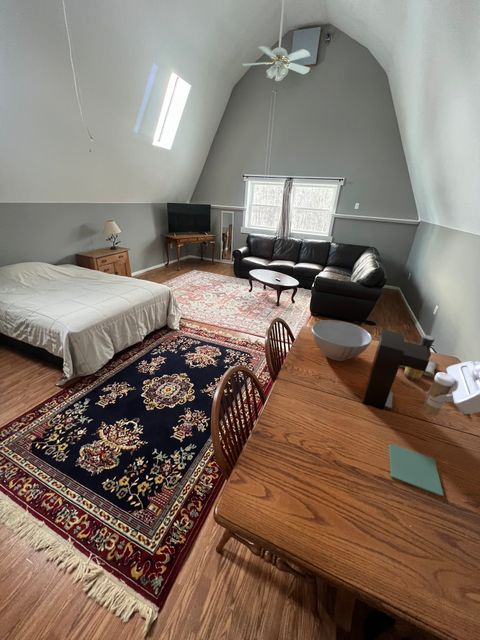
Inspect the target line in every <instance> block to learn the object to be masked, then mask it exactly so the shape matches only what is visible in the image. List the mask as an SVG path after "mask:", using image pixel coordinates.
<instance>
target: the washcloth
mask: <svg viewBox="0 0 480 640" xmlns="http://www.w3.org/2000/svg"><path fill="white" fill-rule="evenodd" d="M400 367H401V368H404V369H406V366H403V365H399V368H400ZM436 368H437V364H436V363H435V362H433V361H431V360H429V363H428V366H427V368H426V371H425V372H424V371H423V374H422V376H426V377H429V378H434V377H435V370H436Z"/></svg>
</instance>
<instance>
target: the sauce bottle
mask: <svg viewBox="0 0 480 640" xmlns="http://www.w3.org/2000/svg"><path fill="white" fill-rule="evenodd" d="M435 340H436V339H435V338H434V337H433V336H431V335H429V334H428V335H427V334H424V335H423V336H422V337H421V340H420V343H419V345H422V346H426V347H427V352H428V357H429V359H430V358H431V356H432V352H431V348H432V345H433V344H434V342H435ZM422 374H423V371H421V370H417V369H413V368H410V367H406V368H404V372H403V375H404V377H405V378H406V379H408V380H410V381H413V382H416V381H419V380H421V378H422V376H423V375H422Z"/></svg>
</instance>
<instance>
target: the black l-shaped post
mask: <svg viewBox="0 0 480 640" xmlns="http://www.w3.org/2000/svg"><path fill="white" fill-rule="evenodd" d="M429 361H430V358H429V357H428V352H427V347H426V346H422V345H420V344H419V343H418V344H417V343H414V342H410V341H405V334H404V333H401V332H395V331H391V330H388V329H382V331H381V335H380V338H379V341H378V344H377V347H376V350H375V354H374V357H373V360H372V364H371V367H370V371H369V374H368V377H367V380H366V384H365V390H364V395H363V400H362V404H363V405H365V406H368V407H371V408H374V409H377V410H380V411H385V409H387V410H390V411H391V410H392V409H393V395H394V393H393V392H392V391H391V390H392V388H393V385H394V382H395V379H396V376H397V374H398V371H399V369H400V366H399V365H403V366H406V367H410V368H413V369H417V370H421V371H424V372H425V371H426V368H427V366H428V363H429Z"/></svg>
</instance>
